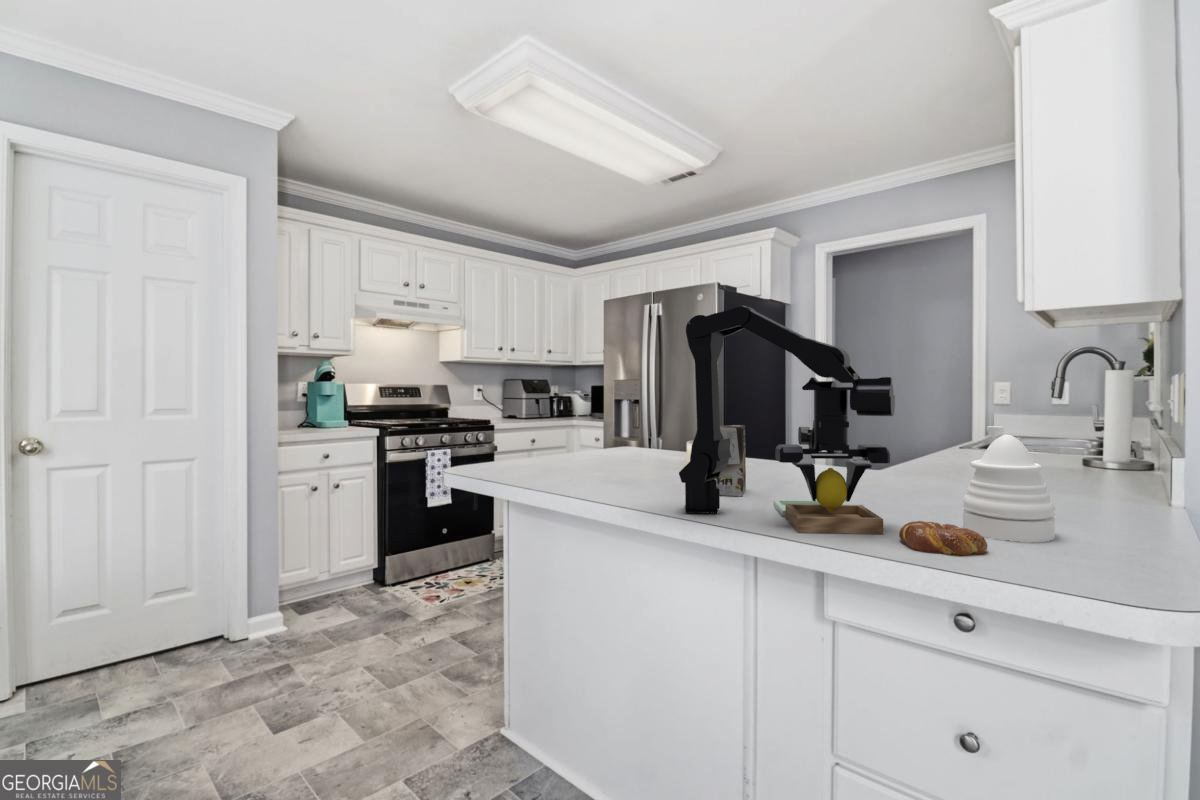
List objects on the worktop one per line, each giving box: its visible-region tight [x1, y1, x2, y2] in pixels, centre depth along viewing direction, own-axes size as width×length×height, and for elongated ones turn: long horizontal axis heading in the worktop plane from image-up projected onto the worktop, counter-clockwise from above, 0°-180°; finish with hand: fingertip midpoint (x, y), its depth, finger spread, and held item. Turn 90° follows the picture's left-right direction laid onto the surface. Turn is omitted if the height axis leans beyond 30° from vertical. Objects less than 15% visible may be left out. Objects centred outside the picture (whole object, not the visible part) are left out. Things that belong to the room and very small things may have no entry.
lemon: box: [815, 467, 847, 512], centre depth 107 cm, size 6×6×8 cm
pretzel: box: [898, 520, 988, 556], centre depth 92 cm, size 12×11×4 cm
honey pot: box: [962, 425, 1056, 543], centre depth 100 cm, size 13×13×18 cm
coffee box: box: [715, 424, 747, 497], centre depth 140 cm, size 9×6×16 cm
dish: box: [772, 499, 819, 518], centre depth 119 cm, size 11×11×1 cm
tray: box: [785, 504, 884, 535], centre depth 107 cm, size 14×12×3 cm
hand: (830, 501), depth 107 cm, fingers closed on lemon, 5 cm apart
